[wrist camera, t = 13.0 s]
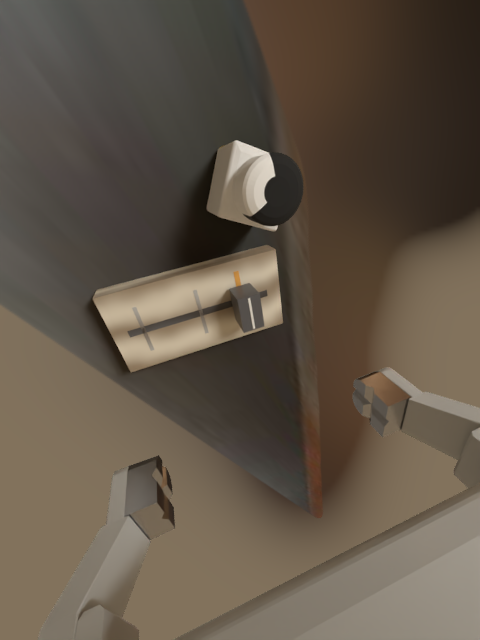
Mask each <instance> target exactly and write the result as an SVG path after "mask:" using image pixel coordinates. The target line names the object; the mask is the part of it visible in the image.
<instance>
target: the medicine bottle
mask: <svg viewBox="0 0 480 640" xmlns="http://www.w3.org/2000/svg"><path fill="white" fill-rule="evenodd" d="M302 195H303V178H302V174H301V172H300V169H299V167H298V166H297V164H296V163H295V162H294V161H293V160H292V159H291V158H290V157H288V156H287V155H284V154H282V153H268V152H265V151H263V150H260V149H258V148H255V147H253V146H250V145H247V144H245V143H242V142H240V141H237V140H235V141H233V142H231V143H229V144H226V145H224V146H222V147H220V148H219V149H218V151H217V157H216V162H215V167H214V172H213V177H212V183H211V188H210V193H209V198H208V203H207V211H209V212H210V213H212V214H214V215H216V216H218V217H220V218H223V219H227V220H231V221H235V222H239V223H243V224H246V225H250V226H254V227H258V228H262V229H266V230H269V231H276V230H277V227H278V225H280V224H282V223H284V222H286V221H287V220H289V219H290V218H291V217H292V216H293V215H294V213H295V212H296V211H297V209H298V207H299V205H300V202H301V199H302Z"/></svg>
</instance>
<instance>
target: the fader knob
mask: <svg viewBox="0 0 480 640" xmlns="http://www.w3.org/2000/svg"><path fill="white" fill-rule="evenodd" d="M229 291H230V296H231V301H232V306H233V310H234V315H235V320H236V321H237V323H238V324H239V326H240V328H241V329H242V331H243V332H244V333H246V332H249V331H252V330H255V329H258V328H261V327H264V319H263V312H262V305H261V298H260V293H259V292H258V291H257V290H256V289H255V288H254V287H253V286H252V285H251V284H250V283H247V284H244V285H240V286H237V287H233V288H230V289H229Z"/></svg>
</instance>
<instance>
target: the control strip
mask: <svg viewBox="0 0 480 640" xmlns="http://www.w3.org/2000/svg"><path fill="white" fill-rule="evenodd" d="M247 283H250V284H251V285H252V286H253V287H254V288H255V289H256V290H257V291H258V292H259V293H260V298H261V305H262V312H263V319H264V327H261V328H258V329H255V330H252V331H249V332H246V333H244V332H243V331H242V329H241V328H240V326H239V324H238V323H237V321H236V320H235V315H234V310H233V306H232V301H231V296H230V291H229V289H230V288H233V287H237V286H240V285H244V284H247ZM93 301H94V303H95V305H96V307H97V308H98V310H99V312H100V314H101V316H102V318H103V320H104V322H105V324H106V326H107V328H108V330H109V331H110V333H111V335H112V337H113V339H114V341H115V343H116V345H117V347H118V349H119V351H120V352H121V354H122V356H123V358H124V360H125V362H126V364H127V366H128V368H129V370H130V372H134V371H137V370H140V369H143V368H146V367H149V366H152V365H155V364H158V363H162V362H165V361H168V360H171V359H174V358H177V357H180V356H183V355H186V354H189V353H192V352H195V351H198V350H202V349H205V348H208V347H211V346H214V345H217V344H220V343H223V342H226V341H229V340H232V339H235V338H239V337H242V336H245V335H248V334H251V333H254V332H257V331H260V330H263V329H266V328H269V327H272V326H275V325H279V324H282V323H283V319H282V309H281V299H280V289H279V279H278V269H277V259H276V249H274V248H272V247H270V246H268V245H264V246H261V247H257V248H253V249H249V250H246V251H242V252H238V253H234V254H230V255H227V256H223V257H219V258H215V259H212V260H208V261H204V262H200V263H196V264H193V265H189V266H185V267H181V268H178V269H174V270H170V271H166V272H162V273H159V274H155V275H151V276H147V277H143V278H140V279H136V280H132V281H128V282H125V283H121V284H117V285H113V286H109V287H106V288H102V289H98V290H96V292H95V294H94V297H93Z"/></svg>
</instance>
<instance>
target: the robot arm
mask: <svg viewBox="0 0 480 640" xmlns="http://www.w3.org/2000/svg"><path fill="white" fill-rule="evenodd" d="M354 387H355V388H356V390H355V391H354V393H353V402H354V404H355V407H356V408H357V410H358V411H359V412H360V413H361V414H362V415H363V416H365V417H368V418H370V424H371V425H372V427H373V428H374V429H375V430H376V431H377V432H378V433H379V434H380V435H381V436H382V437H385V436H387V435H390V434H392V433H395V432H397V431H400V430H401V431H402V432H404V433H406V434H408V435H409V436H411V437H414V438H416V439H418V440H419V441H422V442H424V443H425V444H427V445H429V446H431V447H433V448H435V449H437V450H439V451H441V452H443V453H445V454H447V455H449V456H451V457H453V458H455V459H457V460H458V462H457V464H456V466H455V468H454V475H455V476H456V477H457V478H459V480H460V481H461V482H462V483H464V484H465V485H466V486H467V487H468V489H467V490H464V491H463V492H460V493H459V494H457V495H455V496H453V497H451V498H449V499H447V500H445V501H443V502H441V503H439V504H437V505H435V506H433V507H431V508H429V509H427V510H426V511H423V512H421V513H419V514H418V515H416V516H414V517H412V518H410V519H408V520H406V521H404V522H402V523H400V524H398V525H396V526H394V527H392V528H390V529H388V530H386V531H385V532H382V533H381V534H379V535H377V536H375V537H373V538H371V539H369V540H367V541H365V542H363V543H361V544H359V545H357V546H355V547H353V548H351V549H349V550H347V551H345V552H344V553H341V554H340V555H338V556H336V557H334V558H332V559H330V560H328V561H326V562H324V563H322V564H320V565H318V566H316V567H314V568H312V569H310V570H308V571H306V572H304V573H302V574H301V575H299V576H297V577H295V578H293V579H291V580H289V581H287V582H285V583H283V584H281V585H279V586H277V587H275V588H273V589H271V590H269V591H267V592H265V593H264V594H261V595H260V596H258V597H256V598H254V599H252V600H250V601H248V602H246V603H244V604H242V605H240V606H238V607H236V608H234V609H232V610H230V611H229V612H227V613H224V614H222V615H220V616H219V617H217V618H215V619H213V620H211V621H209V622H207V623H205V624H203V625H201V626H199V627H197V628H195V629H193V630H191V631H189V632H187V633H185V634H183V635H181V636H180V637H178V638H176V639H174V640H480V408H478V407H474V406H471V405H468V404H465V403H462V402H458V401H455V400H451V399H448V398H445V397H442V396H439V395H435V394H432V393H429V392H424V393H423V392H421V391H420V390H419V389H417V388H416V387H415V386H414V385H412V384H411V383H410V382H408V381H407V380H406V379H404V378H403V377H402V376H401V375H399V374H398V373H397V372H395V371H394V370H393V369H391V368H389V367H386V368H383V369H381V370H378V371H375V372H372V373H370V374H367V375H365V376H362V377H360V378H358V379H356V380H355V381H354ZM171 496H172V484H171V479H170V475H169V473H168V470H167V468H166V467H163V466H162V460H161V458H160V457H159V455H158V456H156V457H153V458H150V459H147V460H145V461H142V462H139V463H136V464H134V465H131V466H128V467H125V468H123V469H120V470H118V471H115V472H114V474H113V477H112V483H111V490H110V498H109V507H108V515H107V521H106V525H104V526H102V527H101V528H100V530H99V532H98V533H97V535H96V537H95V539H94V540H93V542H92V544H91V545H90V547H89V549H88V550H87V552H86V554H85V555H84V557H83V559H82V560H81V562H80V564H79V565H78V567H77V569H76V570H75V572H74V574H73V576H72V577H71V579H70V581H69V582H68V584H67V586H66V587H65V589H64V591H63V593H62V594H61V596H60V598H59V599H58V601H57V603H56V604H55V606H54V608H53V609H52V611H51V613H50V614H49V616H48V618H47V619H46V621H45V623H44V624H43V626H42V628H41V630H40V633H39V637H38V640H139V630H138V629H137V628H136V627H135V626H134V625H132V624H131V623H129V622H127V621H126V620H124V619H122V617H123V614H124V612H125V609H126V606H127V603H128V601H129V598H130V595H131V593H132V590H133V588H134V585H135V582H136V579H137V577H138V574H139V572H140V569H141V566H142V563H143V561H144V558H145V555H146V553H147V550H148V547H149V545H150V540H151V539H153V538H155V537H158V536H160V535H162V534H164V533H166V532H168V531H170V530H173V529H175V523H174V507H173V506H172V504H171V502H170V501H169V500H170V498H171Z"/></svg>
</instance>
